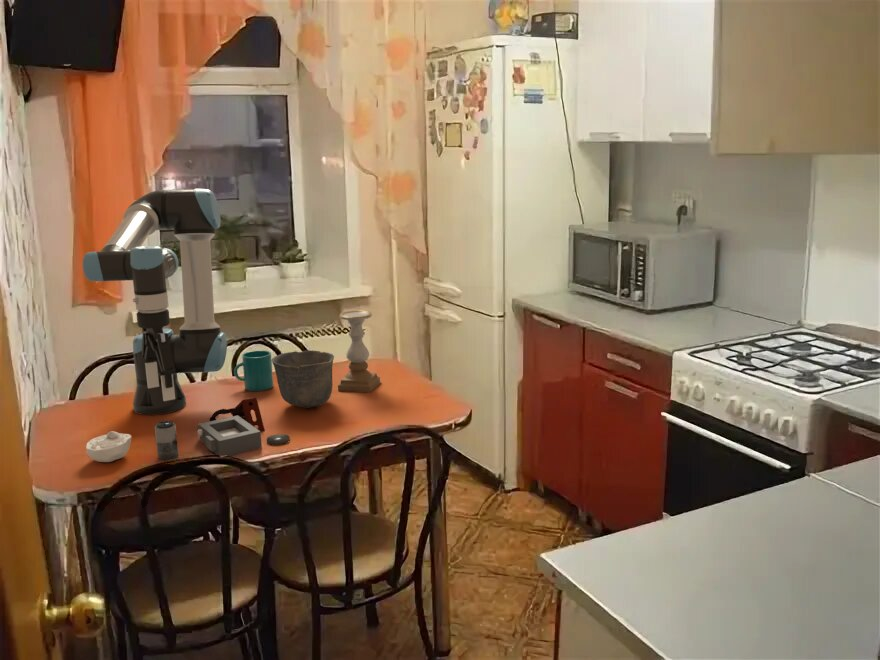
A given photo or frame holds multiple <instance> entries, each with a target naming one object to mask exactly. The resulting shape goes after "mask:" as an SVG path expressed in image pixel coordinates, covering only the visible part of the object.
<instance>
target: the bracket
mask: <svg viewBox="0 0 880 660" xmlns="http://www.w3.org/2000/svg"><path fill="white" fill-rule="evenodd" d="M252 411H253V412H254V415H255V420H253V416H252ZM228 414H231V415H232V416H231V417H233V416H237V415H238V416H239V417H241V418H242V419H244V418H245V421H246V422H248V423H249V424H251V425H252V426H253V427H255V428H256V426H257V429H258V430H259V431H260V432H261V433H264V432H265V430H266V429H265V427H264V423H263V417H262V414H261V411H260V406H259V402H258V398H257V397H254V396H253V397H250V398H245V399H242V400H241V401H239V403H238V404H237V405H236V406H235V407H233V408H231V407H230V408H228V409H227V408H221V409H217V410H216V411H214V412H213V414H212V415H211V416H210V417H209V419H208V420H209V421H214V420H217V419H216V418H217V417H218V416H220V415H228Z"/></svg>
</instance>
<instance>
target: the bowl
mask: <svg viewBox="0 0 880 660" xmlns="http://www.w3.org/2000/svg"><path fill="white" fill-rule="evenodd" d="M334 358H335V355H334V354H333V353H330V352H325V351H320V350H308V349H307V350H303V351H296V350H295V351H290V352H289V351H288V352H284V353H280V354H278V355H275V356H273V357H271V359H272V366H273V367H274V371H275V375H276V379H277V381H276V382H277V384H278V389H279V390H278V391H279V392H280V396H281V397H282V399H283V401H285V402H286V403H287V404H289V405H292V406H295V407H298V408H305V409H306V408H316V407H319V406H322V405H324V404H325V403H327V402H328V401H329V400H330V398H331V395H332V392H333V362H334Z"/></svg>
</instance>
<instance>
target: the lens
mask: <svg viewBox="0 0 880 660" xmlns="http://www.w3.org/2000/svg"><path fill="white" fill-rule="evenodd" d="M154 433H155V434H154V435H155V441H156V453H157V459H158V460H159V461H163V462H164V461H172V460H175V459H177V458H178V457H179V448H178V447H179V445H178V436H177V427H176V423H175V422H174V421H173V420H163V421H162V420H161V421H159V422H156V424H155V426H154Z"/></svg>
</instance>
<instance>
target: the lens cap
mask: <svg viewBox="0 0 880 660" xmlns="http://www.w3.org/2000/svg"><path fill="white" fill-rule="evenodd" d="M290 438H291V436H290V435H288V434H283V433H278V434H272V435H269V436H267V438H266V443H267V444H268V445H270V444H271V446H281V445H280V444H282V445H285V443H286V444H287V442H288V441H289V442H290V441H291V439H290ZM289 442H288V443H289ZM272 444H273V445H272Z"/></svg>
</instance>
